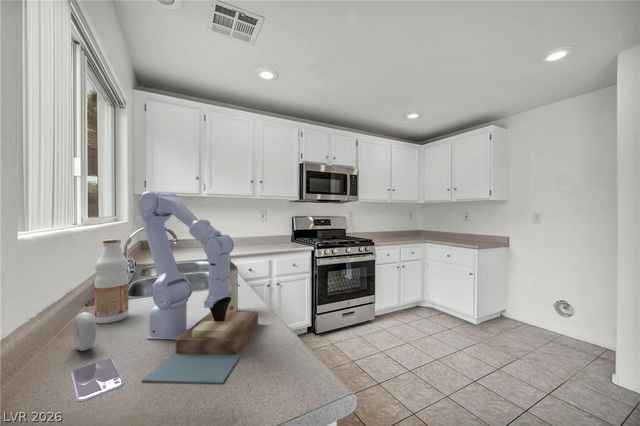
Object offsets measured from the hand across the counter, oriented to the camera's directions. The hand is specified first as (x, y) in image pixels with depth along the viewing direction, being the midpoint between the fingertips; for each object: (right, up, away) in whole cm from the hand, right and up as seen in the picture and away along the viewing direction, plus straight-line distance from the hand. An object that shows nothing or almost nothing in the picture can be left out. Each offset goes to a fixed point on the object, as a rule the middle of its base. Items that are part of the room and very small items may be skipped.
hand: (219, 324), depth 76 cm
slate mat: (-1, -5, -13) cm, 14 cm away
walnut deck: (0, -5, +2) cm, 5 cm away
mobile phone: (-21, -5, -17) cm, 28 cm away
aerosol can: (-5, -5, +22) cm, 23 cm away
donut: (-35, -5, -5) cm, 36 cm away
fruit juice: (-44, -5, +17) cm, 48 cm away
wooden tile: (0, -1, -4) cm, 4 cm away
